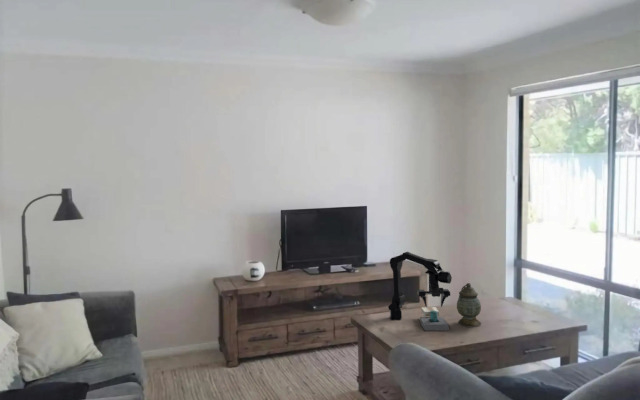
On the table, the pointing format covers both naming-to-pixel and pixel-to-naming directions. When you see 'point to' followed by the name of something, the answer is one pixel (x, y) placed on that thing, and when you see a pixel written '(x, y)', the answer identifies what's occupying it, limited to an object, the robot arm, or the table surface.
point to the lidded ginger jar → (468, 306)
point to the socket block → (434, 323)
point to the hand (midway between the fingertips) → (433, 306)
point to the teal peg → (433, 316)
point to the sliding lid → (428, 310)
